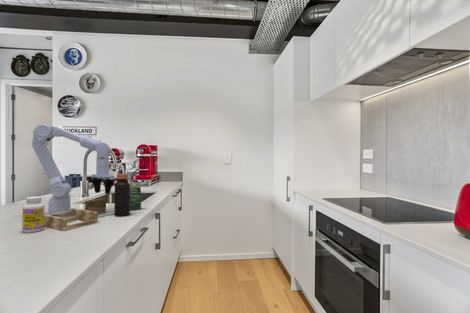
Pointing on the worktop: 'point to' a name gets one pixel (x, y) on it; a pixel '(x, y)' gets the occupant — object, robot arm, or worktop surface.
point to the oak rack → (61, 224)
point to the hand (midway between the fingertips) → (102, 193)
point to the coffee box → (135, 197)
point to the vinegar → (122, 196)
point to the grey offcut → (63, 214)
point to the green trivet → (105, 214)
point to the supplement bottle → (33, 215)
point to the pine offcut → (71, 219)
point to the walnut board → (96, 205)
